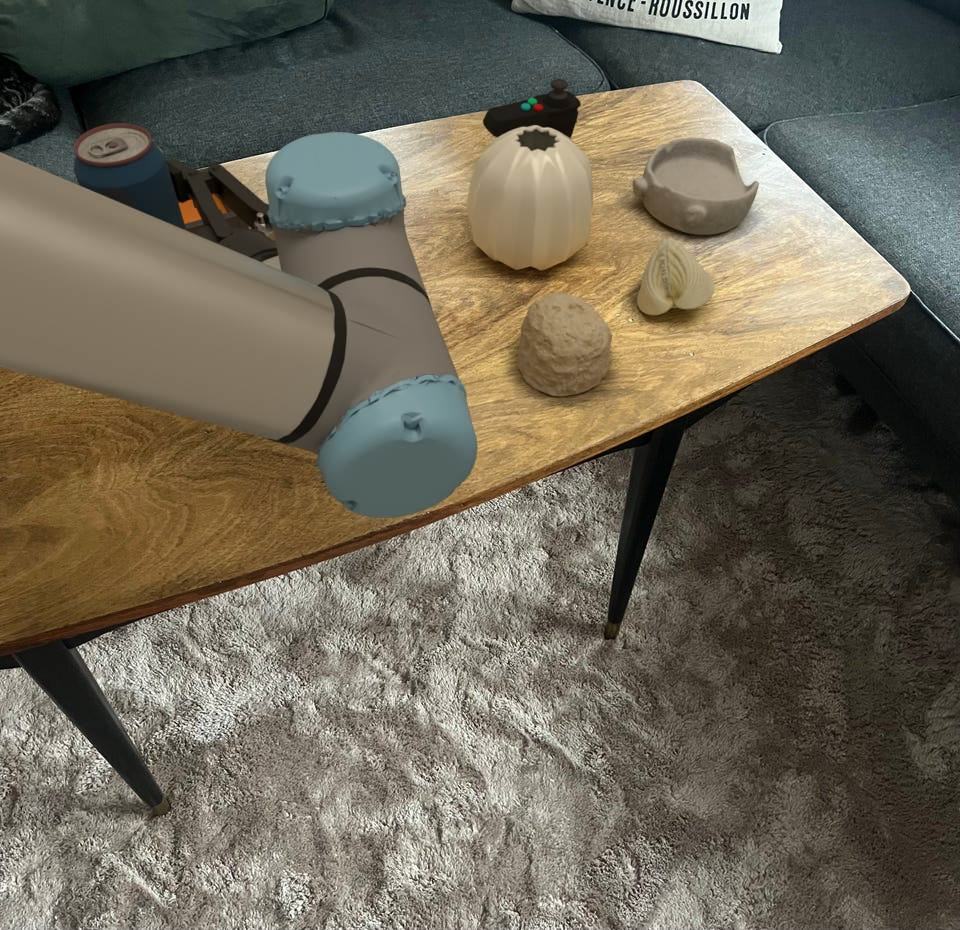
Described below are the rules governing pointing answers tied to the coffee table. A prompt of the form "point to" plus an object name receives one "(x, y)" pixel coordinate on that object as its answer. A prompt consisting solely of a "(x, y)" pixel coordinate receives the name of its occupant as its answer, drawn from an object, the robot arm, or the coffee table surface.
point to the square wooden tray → (194, 219)
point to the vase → (531, 198)
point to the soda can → (127, 170)
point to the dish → (695, 186)
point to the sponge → (563, 345)
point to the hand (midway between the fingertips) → (99, 174)
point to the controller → (537, 112)
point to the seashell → (673, 280)
